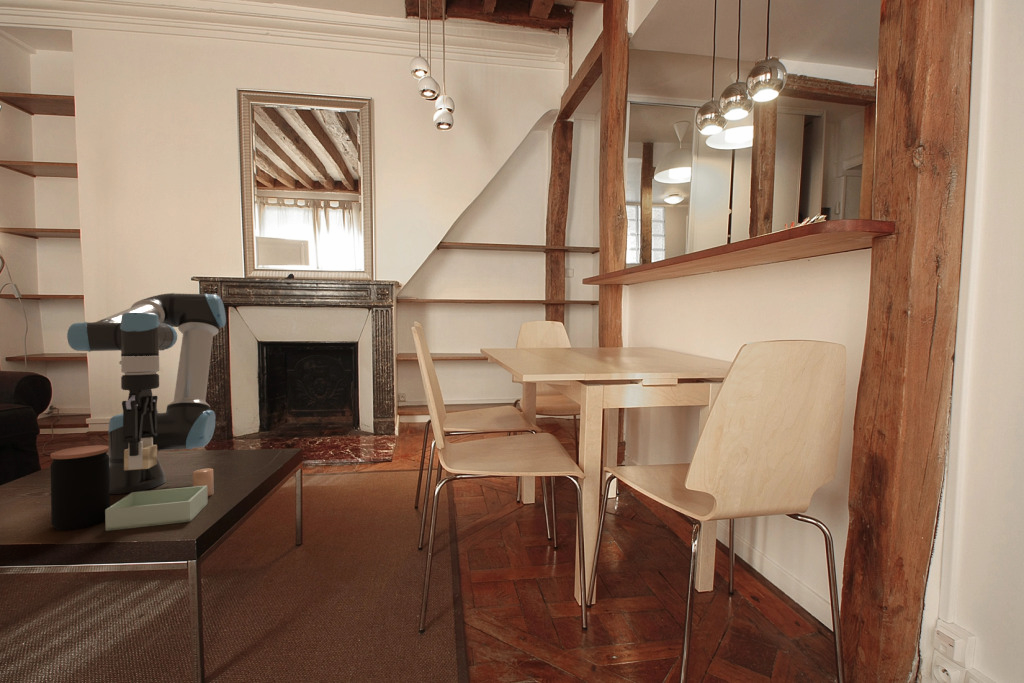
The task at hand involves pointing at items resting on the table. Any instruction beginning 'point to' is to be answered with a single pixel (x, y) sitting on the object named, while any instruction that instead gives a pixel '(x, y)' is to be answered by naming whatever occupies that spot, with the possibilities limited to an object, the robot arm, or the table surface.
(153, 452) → the beech cube
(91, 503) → the coffee jar
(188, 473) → the table surface
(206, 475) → the peach block
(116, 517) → the tray
